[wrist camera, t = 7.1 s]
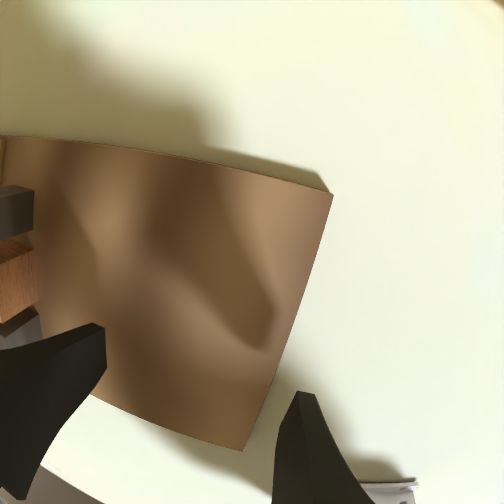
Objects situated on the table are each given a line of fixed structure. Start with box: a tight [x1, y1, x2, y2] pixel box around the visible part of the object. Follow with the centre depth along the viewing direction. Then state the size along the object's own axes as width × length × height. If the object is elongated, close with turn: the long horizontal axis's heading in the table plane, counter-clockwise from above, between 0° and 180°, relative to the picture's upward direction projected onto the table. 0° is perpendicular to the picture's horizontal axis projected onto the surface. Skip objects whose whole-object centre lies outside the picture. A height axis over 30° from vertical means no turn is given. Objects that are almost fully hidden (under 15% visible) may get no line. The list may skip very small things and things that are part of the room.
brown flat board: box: [0, 136, 334, 451], centre depth 11 cm, size 24×14×4 cm, turn 77°
